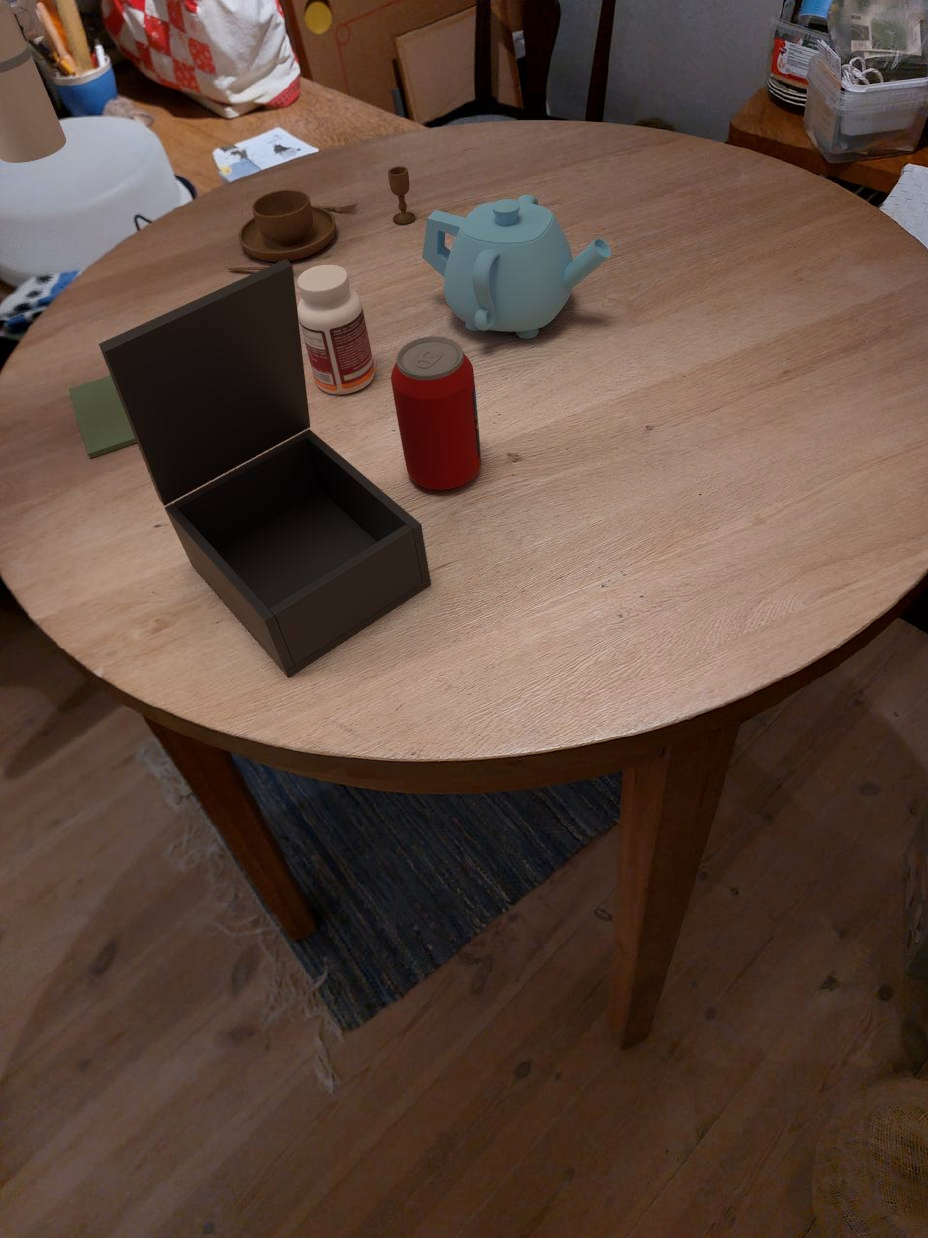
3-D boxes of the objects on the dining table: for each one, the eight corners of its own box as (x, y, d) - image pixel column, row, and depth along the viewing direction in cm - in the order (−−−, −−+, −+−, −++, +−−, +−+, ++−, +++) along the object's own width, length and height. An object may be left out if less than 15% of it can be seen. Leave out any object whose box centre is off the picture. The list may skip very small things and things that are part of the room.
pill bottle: (377, 357, 90) (358, 256, 82) (374, 394, 86) (354, 291, 78) (317, 362, 90) (292, 262, 82) (312, 399, 87) (286, 298, 78)
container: (1, 169, 65) (-66, 31, 58) (-5, 144, 68) (-70, 10, 61) (72, 151, 66) (14, 13, 59) (62, 127, 69) (6, -7, 62)
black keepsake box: (431, 584, 70) (421, 523, 64) (288, 678, 65) (264, 621, 60) (325, 489, 78) (309, 428, 73) (191, 566, 73) (163, 507, 68)
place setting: (275, 204, 114) (263, 157, 110) (419, 212, 109) (413, 163, 105) (217, 274, 104) (201, 226, 99) (373, 286, 99) (364, 236, 95)
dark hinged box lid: (292, 265, 58) (286, 258, 58) (104, 351, 53) (98, 343, 53) (310, 427, 72) (305, 420, 73) (164, 506, 68) (159, 499, 68)
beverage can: (496, 459, 79) (488, 343, 69) (455, 505, 75) (441, 390, 66) (434, 438, 81) (418, 323, 72) (392, 481, 78) (370, 367, 69)
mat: (89, 458, 84) (87, 453, 83) (71, 393, 91) (68, 388, 90) (210, 418, 86) (208, 413, 86) (182, 357, 93) (180, 352, 93)
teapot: (400, 344, 91) (382, 234, 82) (458, 263, 101) (449, 157, 92) (584, 373, 86) (587, 259, 76) (628, 285, 95) (635, 174, 86)
